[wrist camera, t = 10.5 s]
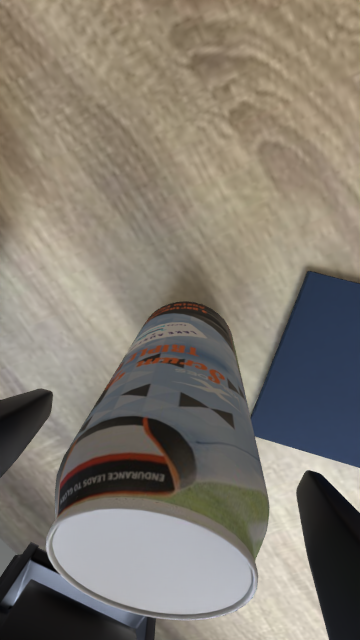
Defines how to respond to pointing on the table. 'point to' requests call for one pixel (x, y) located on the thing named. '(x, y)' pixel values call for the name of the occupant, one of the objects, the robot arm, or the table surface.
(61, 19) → the table surface
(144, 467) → the beverage can
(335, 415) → the blue hardcover notebook
